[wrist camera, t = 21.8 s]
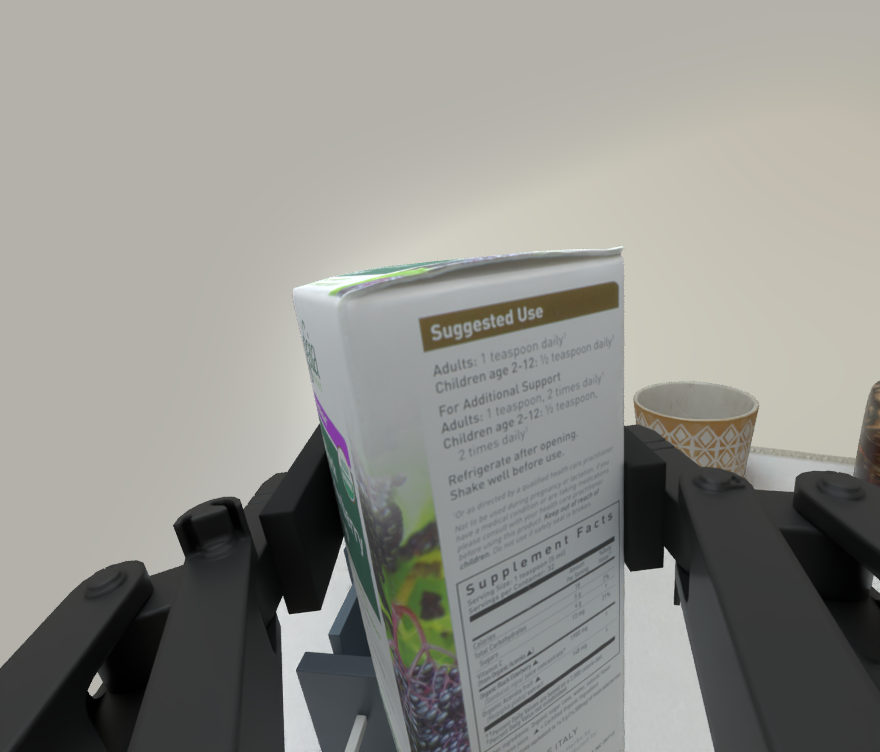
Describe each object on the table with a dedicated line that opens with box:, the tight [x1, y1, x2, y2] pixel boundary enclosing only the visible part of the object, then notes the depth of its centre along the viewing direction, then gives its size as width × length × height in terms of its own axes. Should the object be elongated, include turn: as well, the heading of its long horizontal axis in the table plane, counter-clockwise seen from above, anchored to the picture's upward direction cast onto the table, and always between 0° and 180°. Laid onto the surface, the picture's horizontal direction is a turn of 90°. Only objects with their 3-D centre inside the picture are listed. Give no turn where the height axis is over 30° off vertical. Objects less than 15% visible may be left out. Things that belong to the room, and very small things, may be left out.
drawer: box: [296, 582, 397, 752], centre depth 28 cm, size 19×12×8 cm, turn 169°
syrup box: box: [292, 246, 625, 752], centre depth 11 cm, size 6×6×14 cm
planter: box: [634, 382, 759, 478], centre depth 50 cm, size 13×13×10 cm
